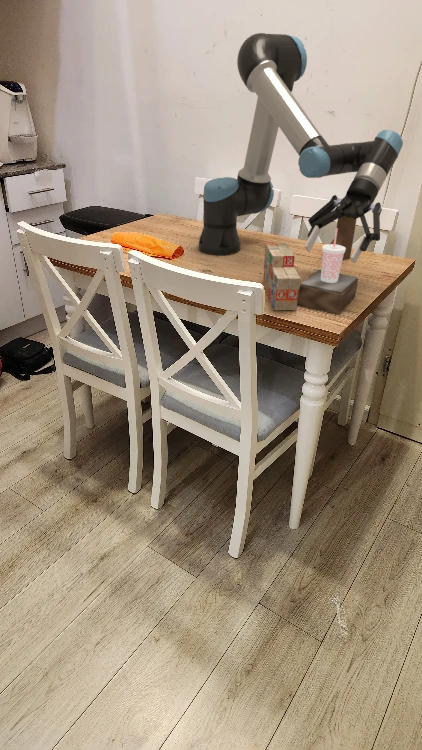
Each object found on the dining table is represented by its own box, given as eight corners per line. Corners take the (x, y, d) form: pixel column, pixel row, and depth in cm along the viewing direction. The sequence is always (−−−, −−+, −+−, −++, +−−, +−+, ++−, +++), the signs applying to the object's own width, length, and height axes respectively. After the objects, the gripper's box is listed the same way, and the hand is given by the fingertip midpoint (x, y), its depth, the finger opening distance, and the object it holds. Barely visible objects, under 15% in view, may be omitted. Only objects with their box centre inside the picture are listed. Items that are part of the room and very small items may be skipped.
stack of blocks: (297, 311, 129) (302, 267, 123) (273, 311, 129) (277, 267, 123) (282, 282, 147) (286, 242, 141) (262, 282, 147) (265, 242, 141)
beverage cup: (313, 279, 132) (320, 228, 125) (325, 274, 136) (332, 223, 129) (333, 285, 129) (341, 232, 121) (344, 279, 133) (353, 228, 125)
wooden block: (329, 262, 163) (337, 207, 154) (321, 258, 167) (328, 204, 157) (350, 258, 167) (359, 204, 157) (341, 254, 170) (350, 201, 161)
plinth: (296, 304, 133) (299, 283, 130) (315, 288, 143) (317, 268, 140) (339, 314, 128) (342, 293, 125) (355, 296, 138) (358, 276, 135)
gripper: (413, 202, 125) (376, 273, 123) (327, 188, 138) (293, 251, 137) (410, 183, 118) (371, 257, 117) (320, 170, 132) (284, 237, 131)
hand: (329, 254), depth 127 cm, fingers open, 13 cm apart
